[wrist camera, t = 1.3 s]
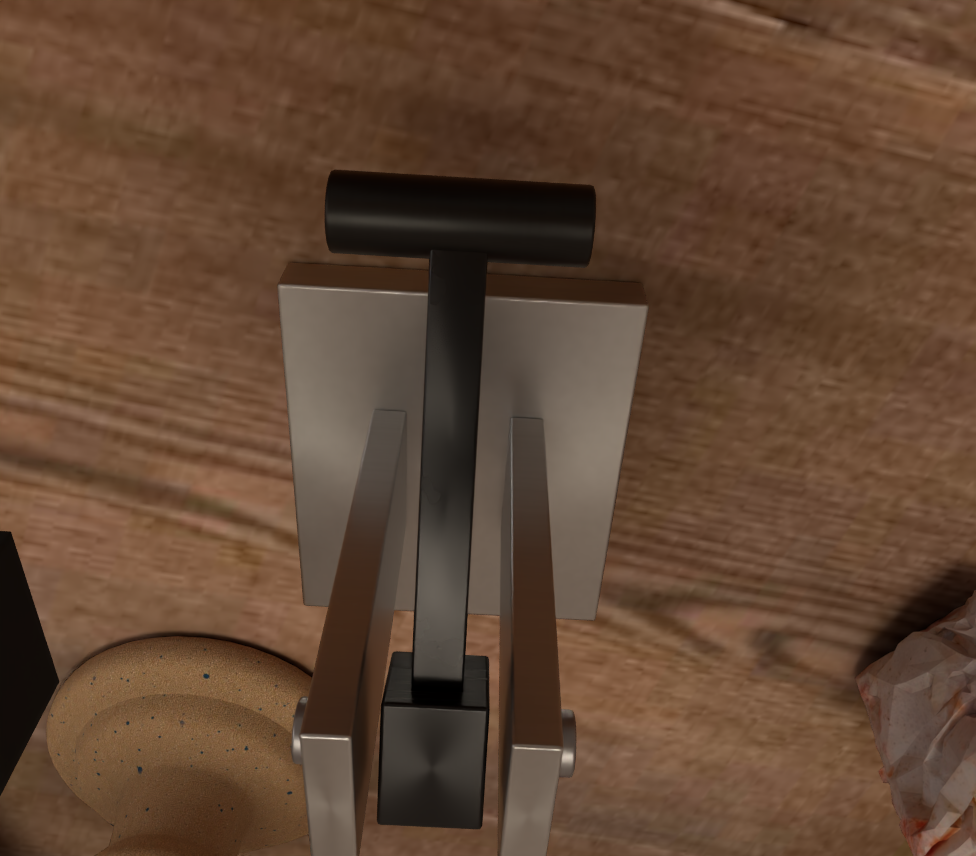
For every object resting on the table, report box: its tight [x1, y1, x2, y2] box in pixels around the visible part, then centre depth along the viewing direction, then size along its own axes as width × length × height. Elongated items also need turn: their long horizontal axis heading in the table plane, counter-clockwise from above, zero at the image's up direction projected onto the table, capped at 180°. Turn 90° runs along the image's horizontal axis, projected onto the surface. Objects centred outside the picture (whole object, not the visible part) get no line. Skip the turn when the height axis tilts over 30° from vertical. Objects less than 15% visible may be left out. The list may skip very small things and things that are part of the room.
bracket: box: [277, 263, 649, 856], centre depth 24 cm, size 12×10×13 cm
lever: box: [325, 170, 596, 829], centre depth 19 cm, size 13×5×2 cm, turn 177°
